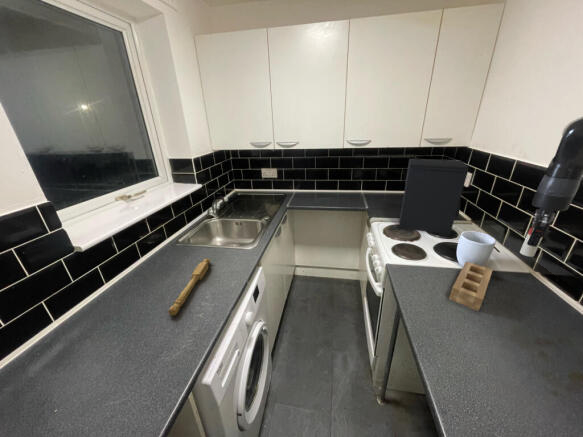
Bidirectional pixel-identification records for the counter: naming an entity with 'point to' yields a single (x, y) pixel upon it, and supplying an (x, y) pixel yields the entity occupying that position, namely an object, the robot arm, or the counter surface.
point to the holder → (471, 285)
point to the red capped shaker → (528, 249)
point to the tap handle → (189, 286)
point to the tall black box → (432, 195)
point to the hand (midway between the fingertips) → (531, 242)
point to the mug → (474, 247)
